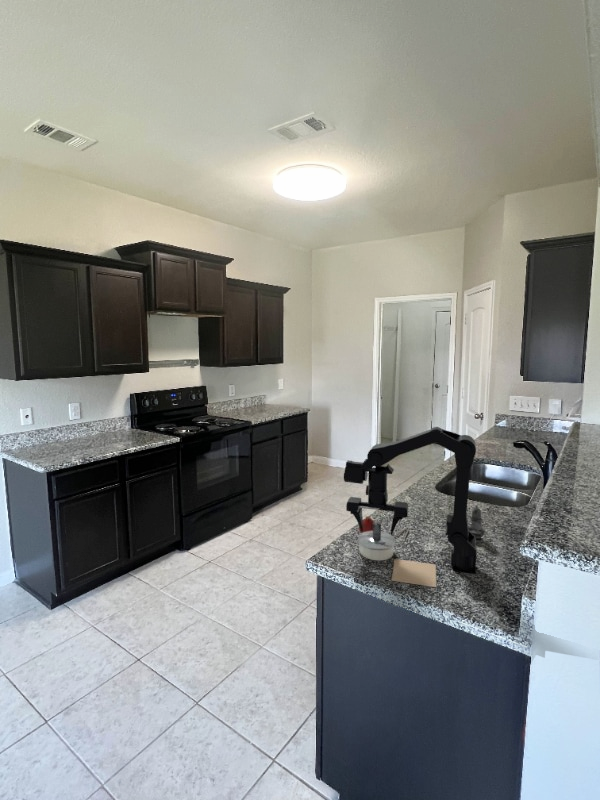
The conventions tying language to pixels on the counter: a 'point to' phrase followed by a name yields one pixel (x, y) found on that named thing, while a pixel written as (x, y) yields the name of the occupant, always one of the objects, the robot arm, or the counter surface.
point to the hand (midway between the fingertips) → (376, 532)
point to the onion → (367, 525)
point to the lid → (376, 538)
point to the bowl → (376, 553)
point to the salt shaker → (476, 525)
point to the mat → (414, 572)
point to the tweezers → (401, 532)
